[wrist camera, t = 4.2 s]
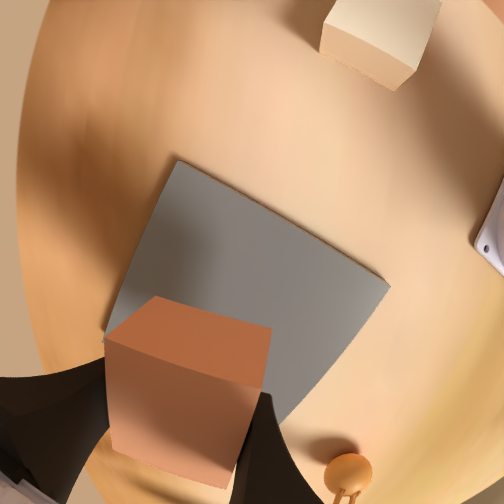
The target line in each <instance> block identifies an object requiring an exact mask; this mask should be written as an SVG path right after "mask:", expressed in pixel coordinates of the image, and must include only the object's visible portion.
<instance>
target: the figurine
mask: <svg viewBox="0 0 504 504" xmlns="http://www.w3.org/2000/svg"><path fill="white" fill-rule="evenodd" d="M371 478H372V466H371V464H370V462H369V461H368V460H367V459H366V458H365V457H363V456H362V455H359V454H355V453H348V454H343V455H340V456H338V457H336V458H335V459H333V460H332V461H331V462H330V463H329V464H328V466H327V468H326V470H325V473H324V482H325V485H326V487H327V488H328V490H329V491H330V492H332V493H333V494H335V495H336V496H335V499H334V502H333V504H339V503H340V500H341V498H342V496H349V497H350V500H349V504H355V501H356V498H357V497H358V496H359V495H360V493H361V491H363V490H364V489H365V488H366V487H367V486H368V484H369V483H370V481H371Z"/></svg>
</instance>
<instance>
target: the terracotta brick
mask: <svg viewBox="0 0 504 504" xmlns="http://www.w3.org/2000/svg"><path fill="white" fill-rule="evenodd" d="M271 334H272V328H268V327H264V326H260V325H256V324H252V323H248V322H245V321H241V320H237V319H233V318H230V317H226V316H222V315H219V314H215V313H212V312H208V311H205V310H201V309H198V308H194V307H191V306H188V305H184V304H181V303H178V302H174V301H171V300H168V299H165V298H162V297H158V296H154V297H153V298H152V299H151V300H149V301H148V302H147V303H146V304H144V305H143V306H142V307H141V308H139V309H138V310H137V311H136V312H134V313H133V314H132V315H131V316H130V317H128V318H127V319H126V320H125V321H123V322H122V323H121V324H120V325H118V326H117V327H116V328H115V329H114V330H112V331H111V332H110V333H109V334H107V335H106V336H105V337H104V350H105V376H106V392H107V404H108V414H109V424H110V432H111V439H112V446H113V450H115V451H118V452H120V453H122V454H124V455H126V456H129V457H131V458H133V459H135V460H138V461H140V462H143V463H145V464H148V465H150V466H153V467H155V468H158V469H161V470H163V471H166V472H169V473H172V474H175V475H177V476H180V477H183V478H187V479H190V480H193V481H196V482H200V483H203V484H207V485H210V486H214V487H218V488H221V489H225V490H226V489H227V486H228V484H229V481H230V478H231V476H232V473H233V470H234V468H235V465H236V462H237V459H238V457H239V454H240V451H241V448H242V445H243V443H244V440H245V437H246V434H247V431H248V428H249V425H250V422H251V419H252V416H253V414H254V411H255V408H256V405H257V402H258V398H259V395H260V392H261V389H262V384H263V379H264V373H265V368H266V362H267V357H268V351H269V345H270V340H271Z"/></svg>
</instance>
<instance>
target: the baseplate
mask: <svg viewBox="0 0 504 504" xmlns="http://www.w3.org/2000/svg"><path fill="white" fill-rule="evenodd" d="M390 287H391V286H390V285H389V284H388V283H387V282H386V281H385V280H383V279H382V278H380V277H379V276H377V275H376V274H374V273H373V272H371V271H369V270H368V269H366V268H365V267H363V266H362V265H360V264H358V263H357V262H355V261H354V260H352V259H351V258H349V257H347V256H346V255H344V254H343V253H341V252H339V251H338V250H336V249H334V248H333V247H331V246H330V245H328V244H326V243H325V242H323V241H321V240H320V239H318V238H317V237H315V236H313V235H312V234H310V233H308V232H307V231H305V230H303V229H302V228H300V227H298V226H297V225H295V224H293V223H292V222H290V221H288V220H287V219H285V218H283V217H281V216H280V215H278V214H276V213H275V212H273V211H271V210H270V209H268V208H266V207H264V206H263V205H261V204H259V203H257V202H256V201H254V200H252V199H250V198H249V197H247V196H245V195H243V194H242V193H240V192H238V191H236V190H235V189H233V188H231V187H229V186H227V185H226V184H224V183H222V182H220V181H218V180H217V179H215V178H213V177H211V176H209V175H207V174H206V173H204V172H202V171H200V170H198V169H196V168H195V167H193V166H191V165H189V164H187V163H185V162H183V161H177V163H176V165H175V167H174V169H173V171H172V173H171V175H170V177H169V179H168V181H167V183H166V185H165V187H164V189H163V191H162V193H161V195H160V197H159V199H158V201H157V203H156V206H155V208H154V210H153V212H152V214H151V216H150V219H149V221H148V223H147V225H146V228H145V230H144V232H143V234H142V237H141V239H140V241H139V244H138V246H137V248H136V251H135V253H134V256H133V258H132V261H131V263H130V266H129V268H128V271H127V273H126V276H125V278H124V281H123V283H122V286H121V289H120V291H119V294H118V297H117V299H116V302H115V305H114V308H113V311H112V313H111V316H110V319H109V322H108V325H107V328H106V331H105V334H104V337H105V336H106V335H107V334H109V333H110V332H111V331H112V330H114V329H115V328H116V327H117V326H118V325H120V324H121V323H122V322H123V321H125V320H126V319H127V318H128V317H130V316H131V315H132V314H133V313H134V312H136V311H137V310H138V309H139V308H141V307H142V306H143V305H144V304H146V303H147V302H148V301H149V300H151V299H152V298H153V297H154V296H158V297H162V298H165V299H168V300H171V301H174V302H178V303H181V304H184V305H188V306H191V307H194V308H198V309H201V310H205V311H208V312H212V313H215V314H219V315H222V316H226V317H230V318H233V319H237V320H241V321H245V322H248V323H252V324H256V325H260V326H264V327H268V328H272V334H271V340H270V345H269V351H268V357H267V362H266V368H265V373H264V379H263V384H262V389H261V392H265V393H269V394H271V396H272V400H273V406H274V411H275V415H276V419H277V422H278V425H279V424H280V423H281V422H282V421H283V420H284V419H285V418H286V417H287V416H288V415H289V414H290V413H291V412H292V411H293V410H294V409H295V407H296V406H297V405H298V404H299V403H300V402H301V401H302V400H303V399H304V398H305V397H306V395H307V394H308V393H309V392H310V391H311V390H312V389H313V387H314V386H315V385H316V384H317V383H318V382H319V381H320V379H321V378H322V377H323V376H324V375H325V374H326V372H327V371H328V370H329V369H330V368H331V366H332V365H333V364H334V363H335V361H336V360H337V359H338V358H339V357H340V355H341V354H342V353H343V352H344V350H345V349H346V348H347V346H348V345H349V344H350V343H351V341H352V340H353V339H354V337H355V336H356V335H357V333H358V332H359V331H360V329H361V328H362V327H363V325H364V324H365V323H366V321H367V320H368V319H369V317H370V316H371V314H372V313H373V312H374V310H375V309H376V307H377V306H378V305H379V303H380V302H381V300H382V299H383V297H384V296H385V294H386V293H387V291H388V290H389V289H390ZM104 337H103V340H102V343H104Z"/></svg>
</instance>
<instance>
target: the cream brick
mask: <svg viewBox="0 0 504 504" xmlns="http://www.w3.org/2000/svg"><path fill="white" fill-rule="evenodd" d="M441 4H442V2H440V1H439V0H337V1H336V3H335V4H334V6H333V8H332V9H331V11H330V12H329V14H328V16H327V17H326V19H325V21H324V23H323V30H322V36H321V42H320V48H319V53H321V54H323V55H325V56H327V57H329V58H332V59H334V60H336V61H338V62H340V63H342V64H344V65H346V66H348V67H350V68H352V69H354V70H356V71H358V72H360V73H361V74H363V75H365V76H367V77H369V78H371V79H372V80H374V81H376V82H378V83H379V84H381V85H383V86H385V87H386V88H388V89H390V90H391V91H393V92H394V91H395V90H396V89H397V88H398V87H400V86H401V85H402V84H403V83H404V82H405V81H406V80H407V79H408V78H409V77H410V76H411V75H412V74H413V73H414V72H415V71H416V70H417V67H418V65H419V63H420V60H421V58H422V55H423V53H424V50H425V48H426V45H427V42H428V40H429V37H430V35H431V32H432V29H433V26H434V24H435V21H436V18H437V15H438V13H439V10H440V7H441Z"/></svg>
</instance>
